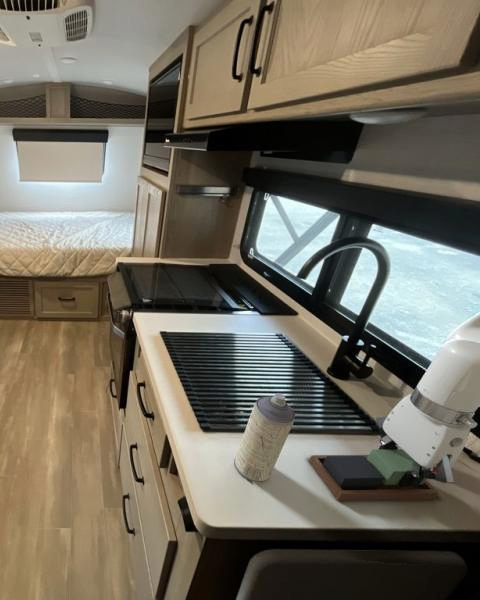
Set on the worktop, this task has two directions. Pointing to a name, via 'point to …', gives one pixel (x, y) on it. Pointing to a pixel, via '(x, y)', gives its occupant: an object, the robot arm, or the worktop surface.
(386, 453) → the sage pad
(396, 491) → the tray
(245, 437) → the aerosol can
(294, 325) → the worktop surface
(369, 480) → the charcoal pad
